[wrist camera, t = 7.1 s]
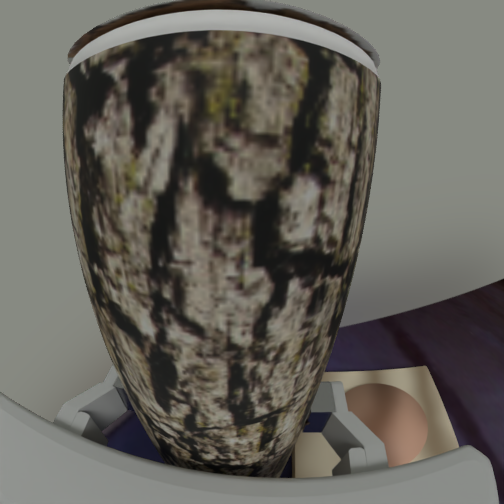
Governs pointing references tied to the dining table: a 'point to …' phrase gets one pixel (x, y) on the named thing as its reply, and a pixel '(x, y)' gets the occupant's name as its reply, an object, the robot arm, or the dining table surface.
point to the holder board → (384, 419)
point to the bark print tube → (220, 214)
